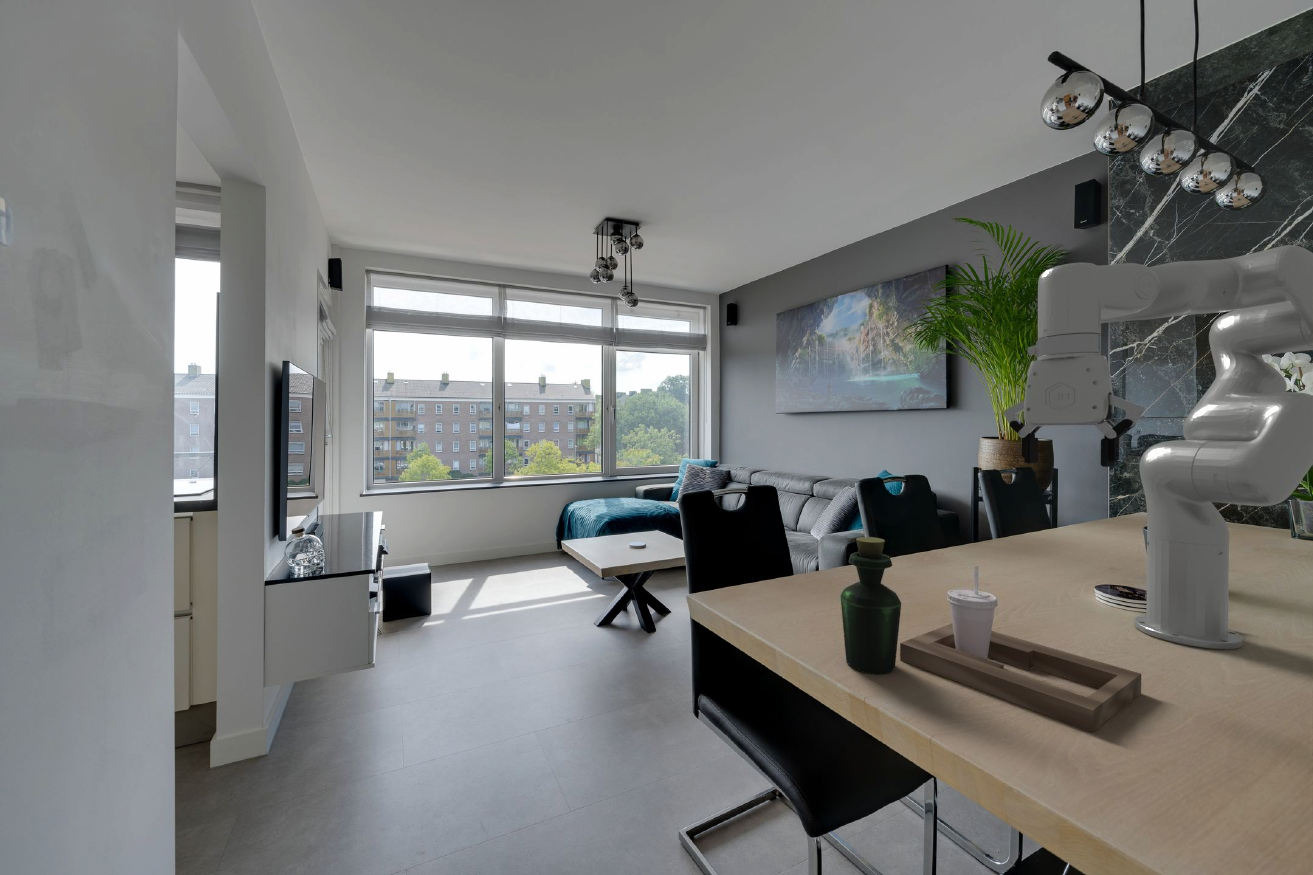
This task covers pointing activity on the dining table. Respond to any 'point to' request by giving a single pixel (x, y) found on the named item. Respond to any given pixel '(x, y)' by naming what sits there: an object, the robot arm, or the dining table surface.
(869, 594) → the potion bottle
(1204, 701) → the dining table surface
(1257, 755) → the dining table surface
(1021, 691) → the keyhole board
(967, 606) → the smoothie
